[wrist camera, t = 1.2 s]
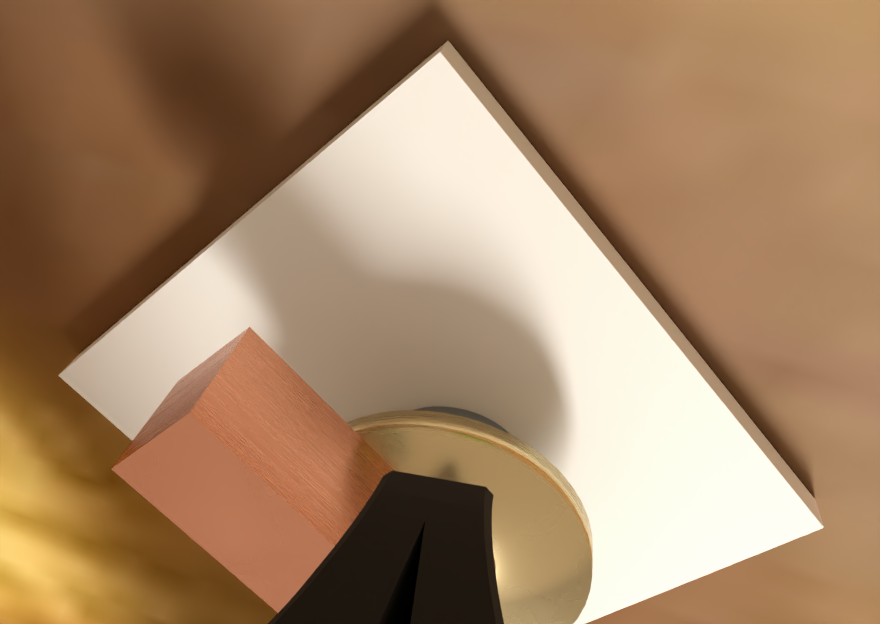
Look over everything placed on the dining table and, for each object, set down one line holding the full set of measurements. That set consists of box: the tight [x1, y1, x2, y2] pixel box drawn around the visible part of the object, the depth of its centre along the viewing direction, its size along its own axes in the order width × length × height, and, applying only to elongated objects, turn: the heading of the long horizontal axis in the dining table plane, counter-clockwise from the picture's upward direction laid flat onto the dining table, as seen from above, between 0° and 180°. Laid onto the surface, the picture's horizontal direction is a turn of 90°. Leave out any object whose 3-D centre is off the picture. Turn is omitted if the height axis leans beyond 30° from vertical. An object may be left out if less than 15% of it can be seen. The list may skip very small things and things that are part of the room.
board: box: [58, 41, 824, 624], centre depth 22 cm, size 14×15×3 cm
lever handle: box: [112, 327, 593, 624], centre depth 18 cm, size 8×11×4 cm
